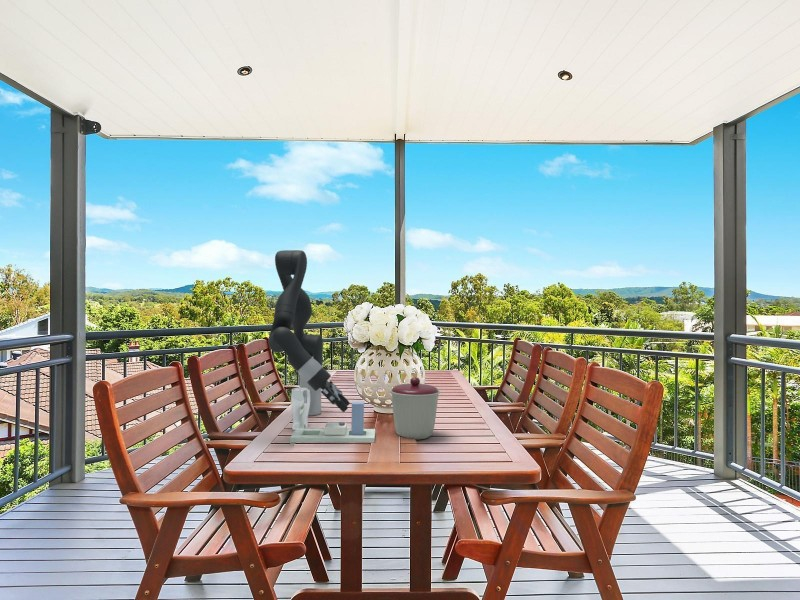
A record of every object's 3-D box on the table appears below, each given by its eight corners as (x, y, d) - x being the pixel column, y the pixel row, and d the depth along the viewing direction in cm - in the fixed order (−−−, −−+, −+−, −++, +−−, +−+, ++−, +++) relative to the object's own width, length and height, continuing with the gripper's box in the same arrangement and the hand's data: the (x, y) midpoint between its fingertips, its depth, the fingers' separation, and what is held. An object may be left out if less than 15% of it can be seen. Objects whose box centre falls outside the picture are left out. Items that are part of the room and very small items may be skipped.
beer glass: (286, 429, 195) (287, 389, 195) (298, 425, 201) (299, 386, 201) (301, 432, 192) (302, 391, 192) (313, 428, 198) (314, 388, 198)
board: (296, 435, 187) (296, 428, 187) (375, 435, 188) (375, 428, 188) (290, 444, 175) (290, 437, 175) (374, 445, 176) (374, 437, 176)
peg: (351, 435, 184) (352, 401, 184) (363, 436, 184) (363, 401, 184) (351, 439, 180) (351, 403, 180) (363, 439, 180) (363, 404, 180)
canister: (382, 431, 194) (383, 374, 194) (428, 428, 200) (428, 372, 200) (398, 445, 177) (399, 382, 177) (447, 441, 183) (448, 380, 183)
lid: (326, 429, 185) (326, 420, 185) (346, 429, 185) (346, 420, 185) (324, 434, 178) (324, 425, 178) (345, 434, 178) (345, 425, 178)
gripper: (319, 369, 174) (353, 404, 175) (324, 363, 189) (356, 396, 189) (302, 384, 174) (337, 420, 174) (309, 378, 188) (341, 411, 189)
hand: (346, 407), depth 182 cm, fingers open, 8 cm apart
